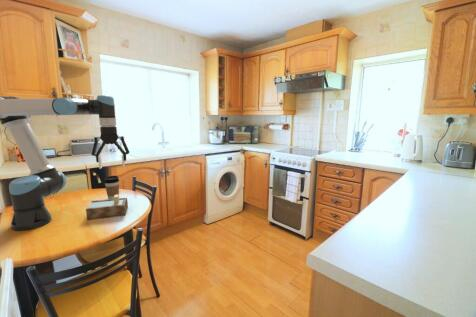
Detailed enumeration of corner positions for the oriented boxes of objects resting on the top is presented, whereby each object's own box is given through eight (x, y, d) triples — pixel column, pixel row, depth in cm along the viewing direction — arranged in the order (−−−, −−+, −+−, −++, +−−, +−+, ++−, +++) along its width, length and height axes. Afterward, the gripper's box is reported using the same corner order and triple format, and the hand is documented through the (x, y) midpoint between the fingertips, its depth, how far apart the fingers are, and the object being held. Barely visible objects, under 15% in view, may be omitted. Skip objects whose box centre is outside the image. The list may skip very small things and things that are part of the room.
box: (87, 220, 122) (85, 209, 121) (93, 210, 133) (92, 200, 132) (125, 215, 127) (124, 205, 126) (128, 207, 139) (127, 197, 137)
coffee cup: (123, 197, 153) (121, 175, 150) (115, 202, 145) (113, 179, 142) (111, 197, 154) (109, 175, 151) (103, 202, 146) (100, 179, 143)
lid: (87, 210, 123) (85, 201, 122) (91, 204, 131) (90, 195, 130) (121, 206, 128) (120, 198, 127) (123, 200, 136) (123, 192, 135)
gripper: (80, 126, 115) (86, 170, 120) (131, 126, 122) (134, 167, 127) (85, 126, 122) (89, 167, 127) (132, 125, 129) (136, 164, 134)
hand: (112, 167), depth 127 cm, fingers open, 10 cm apart
